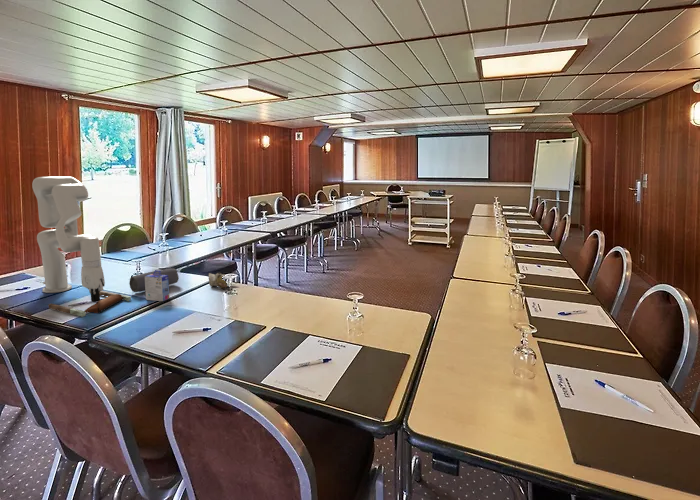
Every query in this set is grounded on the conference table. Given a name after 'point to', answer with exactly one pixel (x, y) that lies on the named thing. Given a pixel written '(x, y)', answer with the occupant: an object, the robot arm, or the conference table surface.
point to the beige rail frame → (80, 312)
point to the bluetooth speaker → (139, 280)
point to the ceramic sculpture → (217, 280)
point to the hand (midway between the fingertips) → (95, 301)
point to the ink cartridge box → (157, 287)
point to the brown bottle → (104, 303)
